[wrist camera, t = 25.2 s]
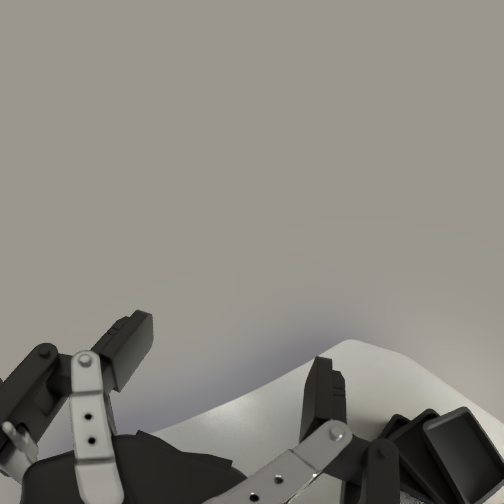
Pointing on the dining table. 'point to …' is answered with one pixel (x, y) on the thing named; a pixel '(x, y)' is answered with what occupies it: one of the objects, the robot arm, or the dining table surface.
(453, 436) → the tray
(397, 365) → the dining table surface
